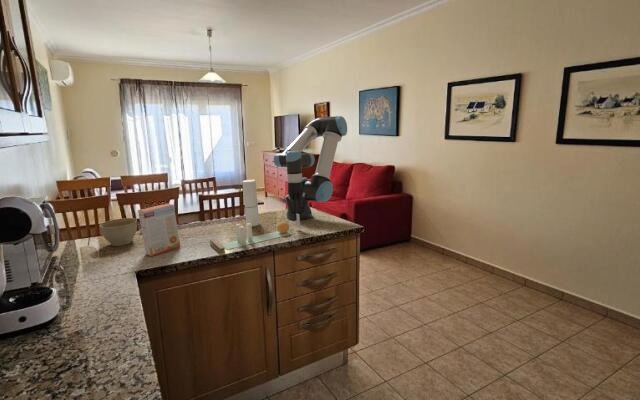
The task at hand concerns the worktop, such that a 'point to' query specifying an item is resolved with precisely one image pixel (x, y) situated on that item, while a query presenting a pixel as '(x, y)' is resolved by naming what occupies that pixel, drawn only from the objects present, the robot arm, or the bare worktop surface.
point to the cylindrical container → (250, 202)
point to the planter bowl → (119, 231)
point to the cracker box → (159, 229)
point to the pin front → (249, 232)
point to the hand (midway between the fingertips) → (297, 226)
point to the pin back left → (242, 235)
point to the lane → (255, 239)
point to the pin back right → (238, 232)
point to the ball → (283, 227)
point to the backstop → (217, 246)
